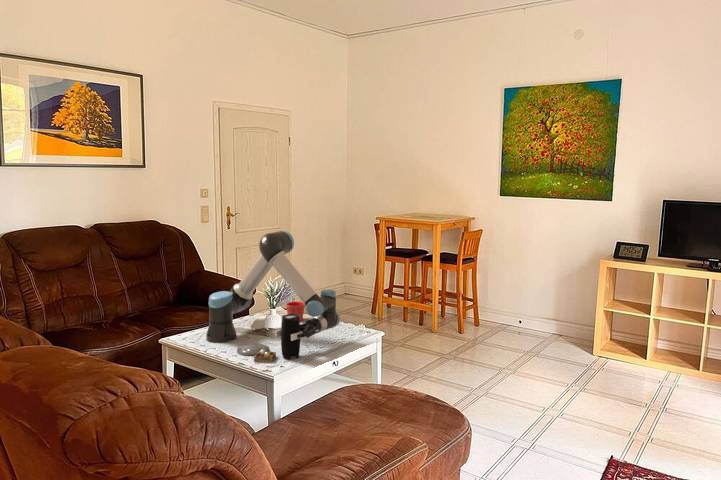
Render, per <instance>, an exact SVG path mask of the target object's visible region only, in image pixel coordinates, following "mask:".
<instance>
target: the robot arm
mask: <svg viewBox="0 0 721 480" xmlns="http://www.w3.org/2000/svg"><path fill="white" fill-rule="evenodd" d="M294 246H295V239H294V237H293V235H292V234H291V233H290V232H288V231H286V230H278V231H273V232H269V233H266V234H264V235H263V236H261V239H260V240H259V243H258V247H259V252H260V255H259V256H258V257H257V258H256V260H255V261H254V263H253V264H252V265H251V267H250V268H249V269H248V270H247V272H246V273H245V275H244V276H243V277H242V278H241V280H240V282H239V283H235V284H234V285H233V286H232V287H231V289H230V290H229V291H227V290H222V291H217V292H213V293H211V294H210V295H209V297H208V319H209V320H208V321H209V325H208V327H207V331H206V334H205V340H207V341H208V342H212V343H226V342H231V341H234V340H236V339H237V331H236V328H235V325H234V322H233V319H234V317H233V315H235V314H237V313H240V312H243V311H245V310H246V309H248V308H249V307H250V305H251V304H252V299H253V297H254V294H253V293H254V291H255V290H256V289H257V287H258V286H259V285H260V283H261V282H262V281H263V280H264V278H265V277H266V276H267V274H268V273H269V272H270V270H271V269H272V267H274V269H275V270H276V271H277V272H278V273H279V275H280V276H281V277H282V278H283V280H284V281H285V282H286V283H287V284H288V285H289V287H290V288H291V289H292V290H293V292H294V293H295V294H296V295H297V296H298V298H300V300H301V302H303V303H305V309H306V314H307V315H308V316H311V318H308V319H307V320H306V322H305V323H300V332H298V333H294V334H291V341H293V340H296V339H299V338H300V339H301V338H307V339H309V338H311V337H312V336H314V335H316V334H320V333H321V332H324V331H326V330H329V329H333V328H335V327H337V326H339V324H341V323H340V322H341V317H340V314H339V313H338V312H337V310H336V309H337V294H336V290H333V289H329V288H328V289H323V290H322V289H321V291H320V296H319V295H318V293H317V292H316V291H315V290H314V289H313V288H312V286H311V285H310V284H309V283H308V281H307V280H306V278H304V277H303V276H302V274H301V273H300V272H299V270H297V268H296V267H295V266H294V265H293V264H292V262H291V261H290V260H289V259H288V258H287V256H286V254H289V253H290V252H291V251H293V249H294ZM274 333H275V336H274V337H275V338H278V337H281V328H280V329H277V330H275V332H274Z"/></svg>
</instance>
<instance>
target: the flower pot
mask: <svg viewBox="0 0 721 480" xmlns="http://www.w3.org/2000/svg"><path fill="white" fill-rule="evenodd" d="M285 307H286V313H287V314H292V313H294V314H297V315H298V316H299V321H300V322H301V321H303V318H304V317H303V316H304V314H305V313H304V312H305V308H306V305H305V303H304V302H303V301H290V302H286V303H285ZM287 314H286V315H287Z"/></svg>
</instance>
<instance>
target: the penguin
mask: <svg viewBox="0 0 721 480" xmlns="http://www.w3.org/2000/svg"><path fill="white" fill-rule="evenodd" d="M266 317H267V316H266V315H262V316H256V317H254V319H253V320H252V322H251V323H250V325H249V326H250V329H251V331H252V330H253V331H254V330H261V329H265V318H266Z"/></svg>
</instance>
